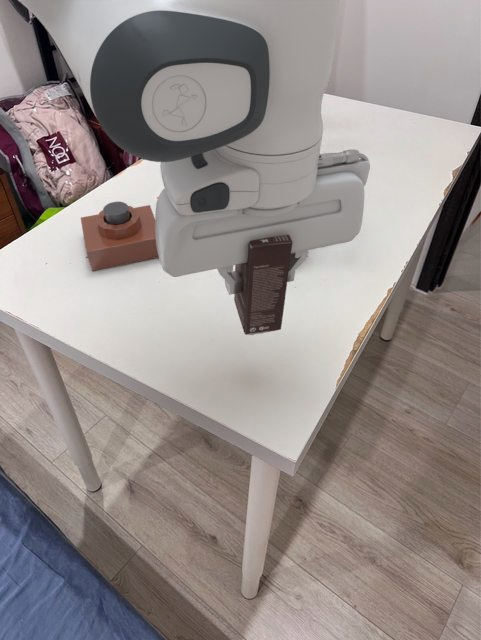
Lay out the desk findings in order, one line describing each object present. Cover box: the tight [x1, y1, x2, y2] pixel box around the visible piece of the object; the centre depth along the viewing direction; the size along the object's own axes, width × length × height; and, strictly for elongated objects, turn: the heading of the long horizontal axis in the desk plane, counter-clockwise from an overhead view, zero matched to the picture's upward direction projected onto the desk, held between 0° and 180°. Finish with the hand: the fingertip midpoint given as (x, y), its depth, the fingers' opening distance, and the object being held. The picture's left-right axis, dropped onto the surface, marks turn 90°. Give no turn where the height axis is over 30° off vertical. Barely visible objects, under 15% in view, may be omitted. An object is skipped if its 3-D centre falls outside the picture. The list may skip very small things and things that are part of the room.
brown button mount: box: [80, 204, 159, 272], centre depth 78 cm, size 12×10×6 cm
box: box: [233, 235, 293, 336], centre depth 49 cm, size 6×4×12 cm
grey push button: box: [102, 201, 130, 225], centre depth 76 cm, size 4×4×2 cm
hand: (259, 284), depth 50 cm, fingers closed on box, 4 cm apart
